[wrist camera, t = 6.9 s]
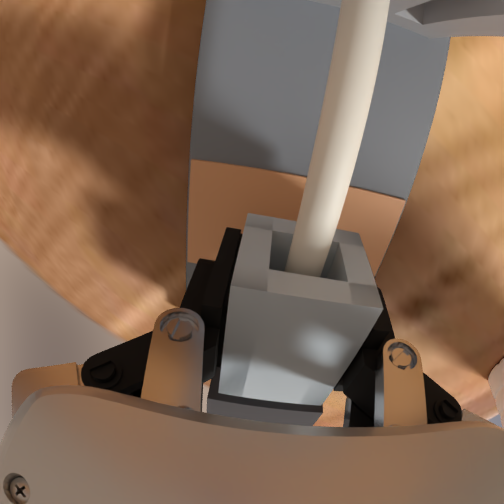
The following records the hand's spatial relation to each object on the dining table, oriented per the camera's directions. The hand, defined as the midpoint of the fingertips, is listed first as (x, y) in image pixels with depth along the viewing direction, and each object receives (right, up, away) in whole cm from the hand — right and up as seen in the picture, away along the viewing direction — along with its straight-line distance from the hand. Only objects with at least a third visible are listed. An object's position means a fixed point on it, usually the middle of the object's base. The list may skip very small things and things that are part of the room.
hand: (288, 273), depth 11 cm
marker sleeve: (0, 0, 0) cm, 1 cm away
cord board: (+1, +4, +2) cm, 5 cm away
